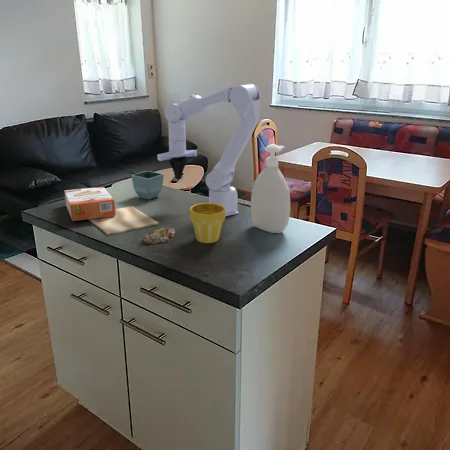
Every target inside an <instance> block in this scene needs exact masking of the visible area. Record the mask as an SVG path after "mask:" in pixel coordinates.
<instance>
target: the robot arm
mask: <svg viewBox="0 0 450 450" xmlns="http://www.w3.org/2000/svg"><path fill="white" fill-rule="evenodd" d="M261 99H262V97H261V93H260V91H259V88H258V87H257V86H256V85H255V84H254V83H245V84H237V85H234V86H229V87H224V88H221V89H220V90H219V89H218V90H217V91H214V92H212V93H209V94H207V95H204V96H201V95H199V94H198V95H195V94H191V95H189V97H188V98H185V99H183V100H182V99H179V100H177V103H170V104H168V105H167V106H166V107H165V109H164V117H165V118H166V120H167V123H168V151H167V152H163V153H159V154H157V161H160V162H162V161H166V160H167V161H168V163H169V164H170V166H171V169H172V171H173V175H174V178H175V179H177V180H182V176H183V172H184V169H185V167H186V165H187V164H188V158H189V157H198V150H196V149H190V150H189V149H187V144H186V143H187V140H186V133H187V132H186V123H187V121H186V120H187V119H189V118H192V117H194V116H196V115H199V114H202V113H204V111H205V110H206V108H208V107H209V106H212V105H215V104H218V103H221V102H222V103H223V102H225V103H231V105H232V106H233V107H234V108H235V110H236V111H237V112H238V115H239V116H240V120H239V123H238V124H237V127H236V129H235V130H234V132H233V134H232V137H231V138H230V140H229V142H228V144H227V145H226V148H225V150H224V151H223V154H222V156H221V158H220V160H219V162H217V164H215V166H214V167H213V169H212V170H211V171H210V172H209V173H207V175H206V176H205V184H206V186H207V187H208V203H216V204H220V205H222V206H224V207H225V209H226V215H225V217H229V216H233V215H237V214H239V211H238V203H239V202H238V191H237V189H236V188H235V187H234V186H231V183H232V182H233V180H234V173H235V171H236V164H237V162H238V161H239V159H240V156H241V155H242V153H243V151H244V149H245V148H246V146H247V144H248V142H249V140H250V138H251V136H252V134H253V133H254V131H255V129H256V127H257V125H258V123H259V121H260V115H261V114H260V106H261V105H260V103H261Z"/></svg>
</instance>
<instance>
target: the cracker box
mask: <svg viewBox="0 0 450 450" xmlns="http://www.w3.org/2000/svg"><path fill="white" fill-rule="evenodd" d="M64 199H65V206H66V209H67V211H68V213H69V216H70V219H71V220H72V222H76V221H84V220H88V219H94V218H102V217H110V216H116V214H115V209H116V205H115V199H114V198H113V196H112V195H111V194H110V193H109V192H108V190H107V189H106V188H105V187H104V186H97V187H88V188H79V189H78V188H76V189H67V190H64Z"/></svg>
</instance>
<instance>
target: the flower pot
mask: <svg viewBox="0 0 450 450" xmlns="http://www.w3.org/2000/svg"><path fill="white" fill-rule="evenodd" d="M164 177H165V175H164V173H162V172H156V171H152V170H151V171H150V170H145V171H142V172H138V173H135V174H131V181H132V185H133V190H134V191H135V193H136V195H137V196H138V197H139V198H140V199H145V200H153V199H155V198H157V197H159V195H160V193H161V192H162V189H163V184H164Z"/></svg>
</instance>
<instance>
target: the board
mask: <svg viewBox="0 0 450 450" xmlns="http://www.w3.org/2000/svg"><path fill="white" fill-rule="evenodd" d="M115 214H116V216H110V217H102V218H94V219H87V220H89V221H90V222H91V223H92V224H93V225H95V226H96V227H97V229H99V230H101V232H103V233H104V234H105V235H107V236H111V235H117V234H122V233H127V232H130V231H131V232H132V231H135V230H139V229H140V230H141V229H143V228H144V229H145V228H149V227H153V226H158V225H159V222H158V221H157V220H154V219H153V218H152V217H150V216H149V215H147V214H146V213H144V212H142V211H140V210H138V209H137V208H135V207H134V206H133V205H131V206H127V207H126V206H125V207H120V208H115Z"/></svg>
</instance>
